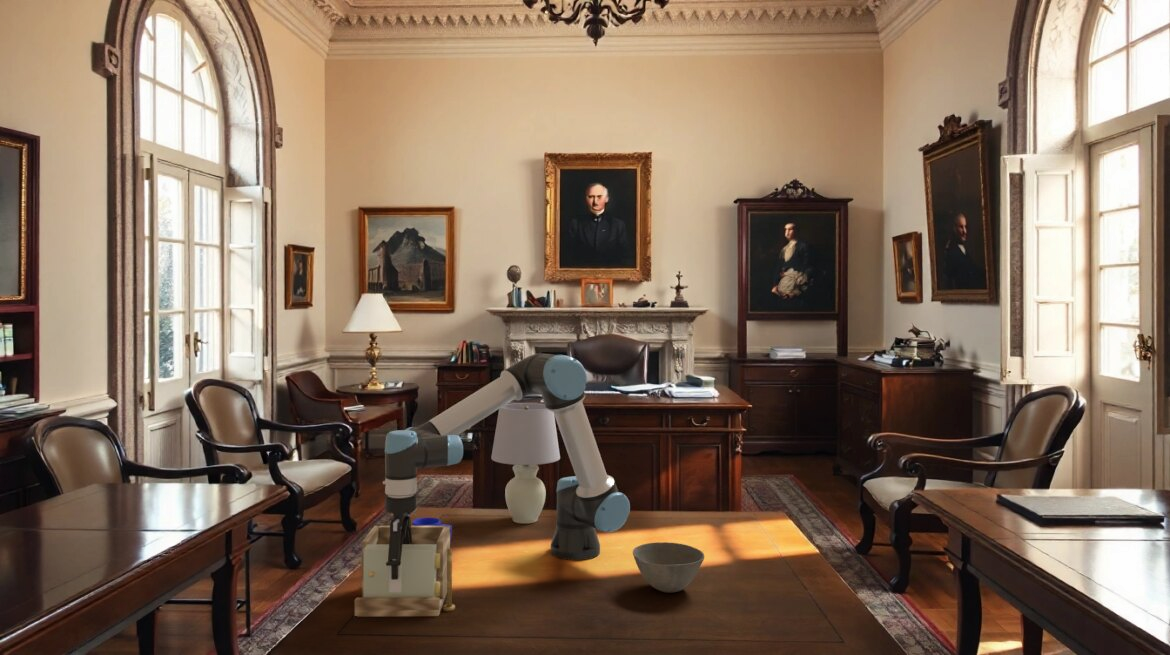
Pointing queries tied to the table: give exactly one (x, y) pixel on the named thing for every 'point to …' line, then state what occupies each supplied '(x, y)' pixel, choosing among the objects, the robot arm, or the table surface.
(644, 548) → the bowl
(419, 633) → the table surface
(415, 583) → the door
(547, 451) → the lamp
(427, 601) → the cabinet
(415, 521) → the mug
